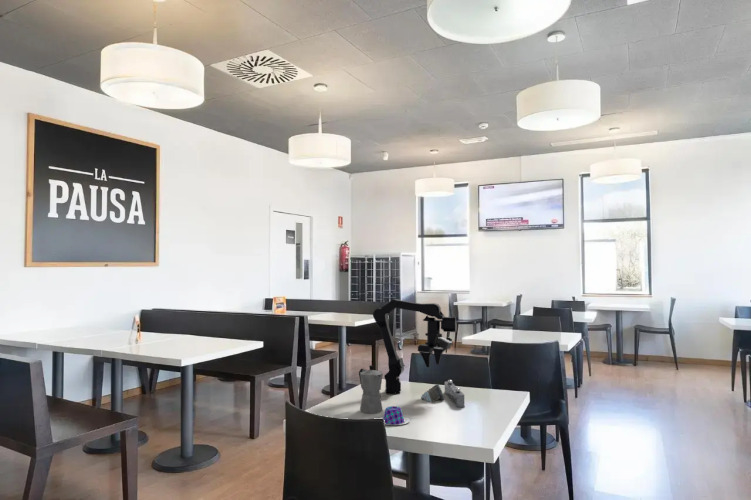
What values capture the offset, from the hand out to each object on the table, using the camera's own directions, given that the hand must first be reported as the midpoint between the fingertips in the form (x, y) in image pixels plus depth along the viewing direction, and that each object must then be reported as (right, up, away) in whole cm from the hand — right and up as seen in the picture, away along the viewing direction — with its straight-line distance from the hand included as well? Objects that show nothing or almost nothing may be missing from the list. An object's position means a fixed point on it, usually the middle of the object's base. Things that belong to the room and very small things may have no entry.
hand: (432, 365), depth 228 cm
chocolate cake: (-2, -13, -8) cm, 16 cm away
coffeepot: (-28, -12, -26) cm, 41 cm away
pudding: (-19, -12, -42) cm, 48 cm away
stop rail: (+8, -13, -9) cm, 18 cm away
